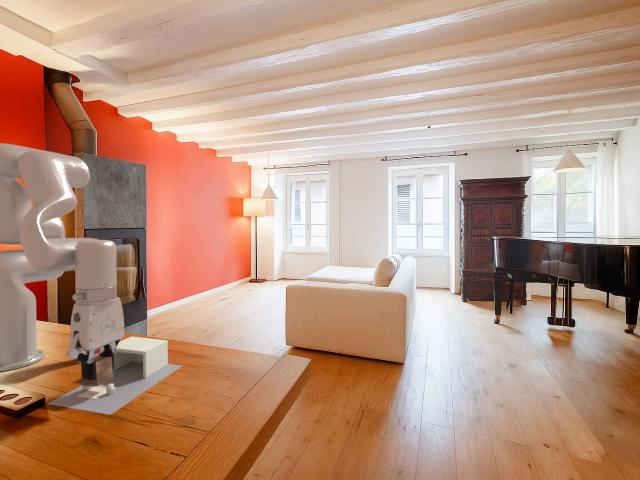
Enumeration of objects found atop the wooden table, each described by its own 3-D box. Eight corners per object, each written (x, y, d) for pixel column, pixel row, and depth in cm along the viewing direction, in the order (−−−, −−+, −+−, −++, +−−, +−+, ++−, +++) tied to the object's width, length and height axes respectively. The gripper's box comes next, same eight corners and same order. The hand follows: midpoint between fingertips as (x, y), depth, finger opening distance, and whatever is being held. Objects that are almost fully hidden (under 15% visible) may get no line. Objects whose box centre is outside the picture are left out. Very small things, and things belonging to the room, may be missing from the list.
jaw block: (97, 386, 70) (95, 363, 70) (82, 385, 71) (81, 363, 70) (113, 377, 74) (111, 356, 74) (98, 377, 75) (97, 356, 74)
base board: (47, 409, 67) (47, 394, 67) (132, 363, 90) (132, 352, 90) (110, 420, 64) (110, 405, 64) (182, 370, 86) (182, 358, 86)
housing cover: (107, 372, 81) (106, 347, 81) (131, 359, 89) (131, 336, 89) (146, 378, 79) (145, 351, 79) (167, 364, 87) (167, 340, 86)
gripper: (74, 304, 62) (76, 395, 63) (139, 288, 79) (140, 360, 79) (44, 302, 64) (46, 390, 65) (114, 286, 80) (115, 357, 81)
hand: (98, 373), depth 72 cm, fingers closed on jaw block, 4 cm apart
